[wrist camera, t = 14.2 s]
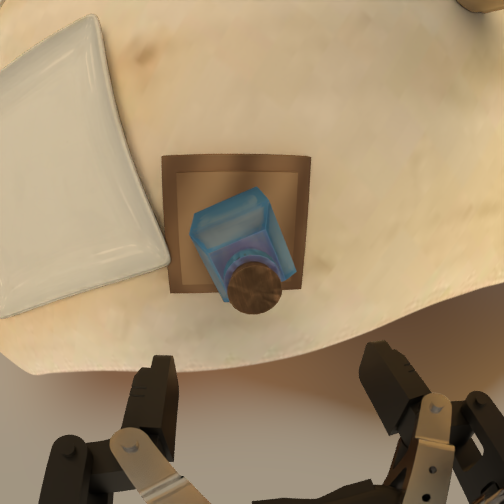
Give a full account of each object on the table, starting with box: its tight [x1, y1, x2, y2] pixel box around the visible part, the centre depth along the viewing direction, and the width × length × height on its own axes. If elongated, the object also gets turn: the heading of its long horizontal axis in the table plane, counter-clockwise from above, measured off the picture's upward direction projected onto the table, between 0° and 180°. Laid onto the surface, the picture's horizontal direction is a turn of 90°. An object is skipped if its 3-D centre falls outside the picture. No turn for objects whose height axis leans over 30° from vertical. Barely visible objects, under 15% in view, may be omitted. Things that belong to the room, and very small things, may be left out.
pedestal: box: [162, 154, 311, 293], centre depth 29 cm, size 14×14×2 cm
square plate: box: [0, 14, 171, 319], centre depth 24 cm, size 27×27×4 cm
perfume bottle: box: [189, 186, 297, 314], centre depth 23 cm, size 6×6×12 cm
